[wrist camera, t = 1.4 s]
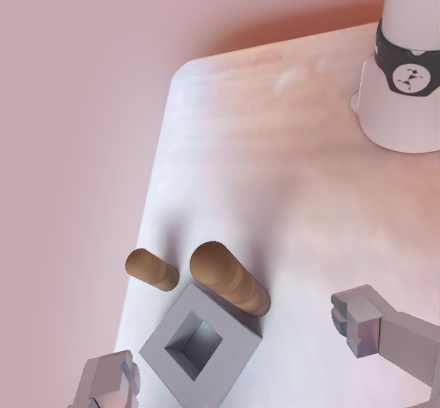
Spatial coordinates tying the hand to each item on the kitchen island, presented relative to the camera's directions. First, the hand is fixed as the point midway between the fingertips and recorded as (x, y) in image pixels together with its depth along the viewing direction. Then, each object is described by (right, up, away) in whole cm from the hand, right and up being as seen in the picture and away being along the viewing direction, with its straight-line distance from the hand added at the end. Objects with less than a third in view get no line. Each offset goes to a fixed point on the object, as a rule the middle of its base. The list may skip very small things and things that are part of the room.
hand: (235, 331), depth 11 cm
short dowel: (-8, -6, +31) cm, 33 cm away
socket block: (-2, -13, +24) cm, 28 cm away
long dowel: (+4, -8, +25) cm, 26 cm away
